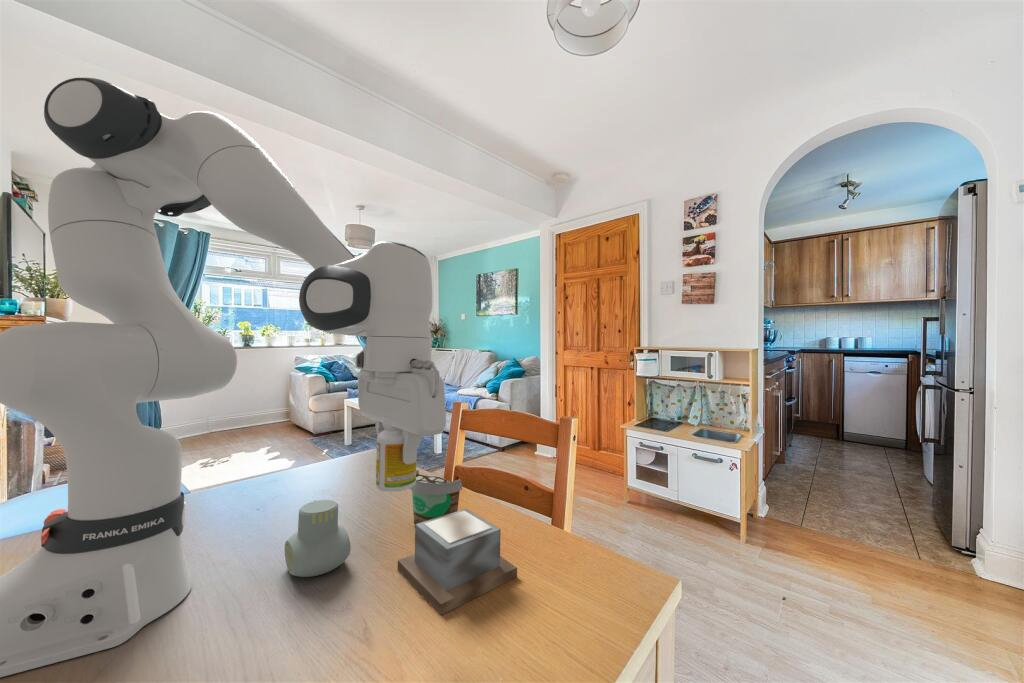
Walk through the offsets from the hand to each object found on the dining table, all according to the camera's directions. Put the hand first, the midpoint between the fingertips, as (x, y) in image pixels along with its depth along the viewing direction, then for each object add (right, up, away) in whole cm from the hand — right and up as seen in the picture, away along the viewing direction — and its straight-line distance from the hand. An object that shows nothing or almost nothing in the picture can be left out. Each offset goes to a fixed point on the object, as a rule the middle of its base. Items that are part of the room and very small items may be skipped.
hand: (396, 456), depth 53 cm
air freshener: (-16, -21, +10) cm, 28 cm away
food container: (-1, -22, +24) cm, 33 cm away
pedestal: (+7, -22, +9) cm, 24 cm away
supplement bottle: (0, -4, 0) cm, 4 cm away
